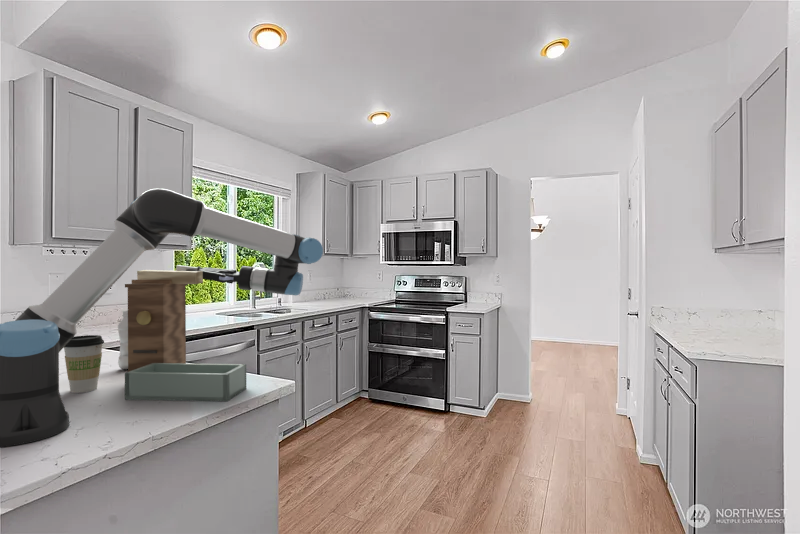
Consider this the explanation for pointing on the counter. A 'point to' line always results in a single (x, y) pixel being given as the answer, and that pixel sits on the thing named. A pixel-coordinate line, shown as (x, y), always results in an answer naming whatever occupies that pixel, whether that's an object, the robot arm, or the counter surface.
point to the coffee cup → (83, 362)
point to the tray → (185, 382)
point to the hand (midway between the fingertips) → (176, 269)
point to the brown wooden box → (156, 323)
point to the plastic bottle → (123, 341)
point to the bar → (172, 276)
